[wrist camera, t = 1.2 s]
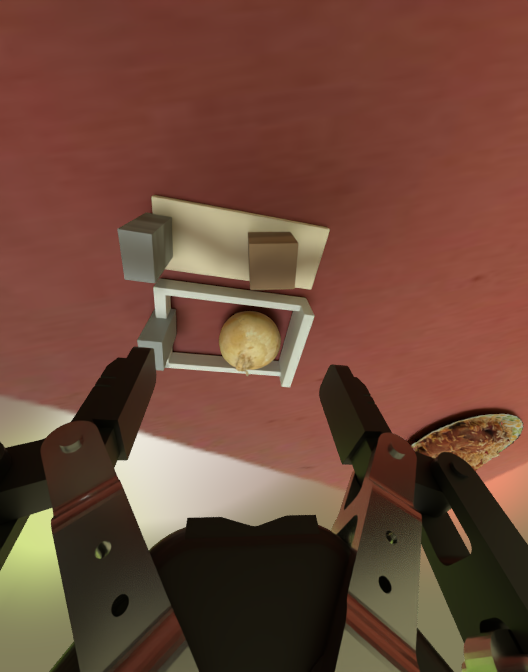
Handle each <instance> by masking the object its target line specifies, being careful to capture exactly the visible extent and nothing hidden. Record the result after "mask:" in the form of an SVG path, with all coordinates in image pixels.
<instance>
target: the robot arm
mask: <svg viewBox="0 0 528 672" xmlns="http://www.w3.org/2000/svg"><path fill="white" fill-rule="evenodd" d="M155 383H156V365H155V353H154V349H153V348H146V347H133V348H132V350H131V351H130V353H129V355H128V357H127V358H117V359H116V360H114V361H113V362H112V363H110V364H109V365H108V366H107V367H106V368H105V370H104V372H103V373H102V375H101V378H99V379H98V381H97V382H96V384H95V386H94V387H93V389H92V390H91V392H90V393H89V395H88V396H87V398H86V400H85V401H84V403H83V404H82V406H81V407H80V409H79V410H78V412H77V414H76V415H75V417H74V418H73V420H72V421H71V422H70V423H67V424H65V425H62V426H60V427H59V428H57V429H55V430H54V431H53V432H51V433H50V434H49V435H48V436H47V437H46V438H45V439H42V440H39V441H34V442H30V443H25V444H21V445H16V446H12V447H8V448H5V447H4V446H3V444H1V443H0V570H1V568H2V566H3V565H4V563H5V560H6V559H7V557H8V555H9V553H10V551H11V550H12V547H13V546H14V544H15V542H16V540H17V538H18V536H19V535H20V533H21V531H22V529H23V527H24V525H25V523H26V521H27V519H28V518H29V516H30V515H31V514H34V513H37V512H40V511H43V510H46V509H49V508H53V515H54V516H53V518H52V519H51V527H52V534H53V539H54V544H55V549H56V554H57V559H58V564H59V568H60V574H61V579H62V584H63V589H64V593H65V598H66V603H67V608H68V613H69V618H70V623H71V628H72V633H73V638H74V642H73V643H72V644H71V646H70V647H69V648H68V649H67V651H66V652H65V653H64V654H63V656H62V657H61V658H60V659H59V661H58V662H57V663H56V664H55V665H54V667H53V668H52V669H51V670H50V672H454V671H453V670H452V669H451V668H450V667H449V665H448V664H447V663H446V662H445V661H444V659H443V658H442V657H441V656H440V654H439V653H438V652H437V651H436V650H435V648H434V647H433V646H432V645H431V644H430V643H429V641H428V640H427V639H426V638H425V637H424V635H423V634H422V633H421V632H420V630H419V629H418V628H417V614H418V593H419V572H420V553H421V544H422V547H423V549H424V551H425V554H426V556H427V558H428V561H429V563H430V565H431V567H432V570H433V572H434V574H435V577H436V579H437V581H438V584H439V586H440V588H441V591H442V593H443V595H444V597H445V600H446V602H447V604H448V607H449V609H450V611H451V614H452V616H453V618H454V620H455V623H456V625H457V628H458V630H459V632H460V635H461V637H462V639H463V641H464V659H465V661H464V662H463V664H462V672H528V545H527V543H526V542H525V540H524V539H523V538H522V536H521V535H520V533H519V532H518V530H517V529H516V528H515V526H514V525H513V524H512V522H511V521H510V519H509V518H508V516H507V515H506V514H505V512H504V511H503V510H502V508H501V507H500V505H499V504H498V502H497V501H496V500H495V498H494V497H493V496H492V494H491V493H490V491H489V490H488V488H487V487H486V486H485V484H484V483H483V481H482V480H481V479H480V477H479V476H478V474H477V473H476V471H475V470H474V469H473V468H472V467H471V466H470V465H469V464H468V463H467V462H466V461H465V460H464V459H462V458H461V457H459V456H457V455H455V454H453V453H450V452H442V453H440V454H439V455H438V456H437V457H436V458H433V457H430V456H427V455H424V454H421V453H418V452H415V451H414V450H413V448H412V447H411V445H410V444H409V443H408V442H407V441H406V440H404V439H403V438H402V437H400V436H398V435H396V434H393V433H392V432H391V430H390V429H389V427H388V425H387V423H386V421H385V420H384V418H383V416H382V414H381V413H380V411H379V409H378V407H377V405H376V404H375V402H374V400H373V398H372V397H371V396H370V393H369V391H368V389H367V388H366V386H365V385H364V384H363V383H362V382H361V381H360V380H359V379H358V378H357V377H354V376H353V374H352V373H351V371H350V369H349V367H348V366H343V365H330V366H329V368H328V370H327V373H326V375H325V377H324V379H323V382H322V384H321V386H320V391H319V396H320V401H321V404H322V407H323V410H324V413H325V415H326V418H327V421H328V424H329V427H330V430H331V433H332V436H333V439H334V442H335V445H336V448H337V451H338V454H339V457H340V460H341V463H342V464H349V465H353V468H354V471H353V472H352V474H351V477H350V481H349V484H348V487H347V490H346V493H345V496H344V499H343V502H342V506H341V509H340V512H339V514H338V517H337V519H336V520H335V522H334V524H333V526H332V528H331V531H330V530H328V529H326V528H324V527H322V526H320V525H318V523H317V518H316V515H292V516H284V517H281V518H278V519H276V520H273V521H270V522H267V523H265V524H262V525H259V526H250V525H246V524H243V523H239V522H236V521H233V520H229V519H226V518H222V517H204V518H187V525H186V527H185V528H183V529H180V530H177V531H175V532H173V533H171V534H169V535H168V536H166V537H165V538H163V539H162V540H160V541H159V542H158V543H157V544H155V545H154V546H153V547H152V548H151V549H150V550H148V548H147V545H146V543H145V540H144V538H143V536H142V533H141V531H140V528H139V526H138V523H137V521H136V518H135V516H134V513H133V511H132V509H131V506H130V504H129V501H128V499H127V496H126V494H125V492H124V489H123V487H122V484H121V482H120V480H119V479H118V477H117V475H116V472H115V470H114V467H115V465H116V462H117V460H128V457H129V455H130V452H131V449H132V447H133V444H134V441H135V438H136V436H137V433H138V430H139V428H140V425H141V422H142V420H143V417H144V414H145V412H146V409H147V406H148V404H149V401H150V398H151V396H152V393H153V390H154V387H155ZM451 508H452V509H453V511H454V513H455V515H456V517H457V518H458V520H459V522H460V524H461V526H462V527H463V529H464V531H465V533H466V534H467V536H468V538H469V540H470V543H471V546H472V552H471V554H470V553H469V551H468V549H467V547H466V546H465V544H464V542H463V540H462V538H461V537H460V535H459V533H458V531H457V529H456V527H455V525H454V524H453V522H452V520H451V518H450V516H449V514H448V513H447V511H449V510H450V509H451Z"/></svg>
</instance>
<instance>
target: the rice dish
mask: <svg viewBox="0 0 528 672" xmlns="http://www.w3.org/2000/svg"><path fill="white" fill-rule="evenodd" d="M501 422H502V423H503V424H502V425H501ZM522 425H523V422H522V420H520V419H519V418H518V417H517V416H513V415H509V414H495V415H494V414H489V415H484V416H483V415H479V416H477V417H474V416H473V418H472V417H470V418H467V419H462V420H461V421H457V422H454V423H452V424H449V425H447V426H444V427H442V428H439V429H438V430H435V431H432V432H431V433H429V434H428V435H426V436H424V437H422V438H421V439H420V440H419V441H418V442H416V443H414V444H412V446H411V447H412V448H414V447H416V446H418V447H417V449H415V452H418V453H421V454H424V455H427V456H430V457H433V458H436V457H437V456H438V455H439V454H440V453H442V452H450V453H453V454H455V455H457V456H459V457H461V458H462V459H464V460H465V461H466V462H467V463H468V464H469V465H470V466H471V467H472V468H473V469H474V470H475V471H476V470H477V469H478V468H480V467H481V466H482V465H483V463H486V462H487V461H489V460H491V459H492V458H493V457H497V456H499V455H500V454H498V453H499V452H501V451H503V450H504V449H505V448H507V447H508V446H509V445H510V444H512V443H513V442H514V441H515V440H517V439H518V438H519V436H520V434H521V432H522V430H523V426H522Z"/></svg>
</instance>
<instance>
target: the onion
mask: <svg viewBox="0 0 528 672" xmlns="http://www.w3.org/2000/svg"><path fill="white" fill-rule="evenodd" d="M280 344H281V337H280V333H279V330H278V328H277V326H276V324H275V323H274V322H273V321H272V320H271V319H270V318H269V317H268V316H266V315H264V314H262V313H260V312H256V311H244V312H239V313H235V314H234V315H233V316H232V317H230V318H229V319H228V320H227V321H226V322H225V324H224V325H223V327H222V329H221V332H220V336H219V346H220V350H221V354H222V356H223V358H224V359H225V360H226V361H227V362H228V363H229V364H230V365H232V366H234V367H235V368H236V370H238V371H242V372H243V371H245V370H254V369H259V368H262V367H264V366H266V365H268V364H269V363H271V362H272V361H273V360H274V359H275V357H276V356H277V354H278V352H279V349H280ZM245 372H246V376H248V375H249V374H248V371H245Z"/></svg>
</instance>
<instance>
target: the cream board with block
mask: <svg viewBox="0 0 528 672" xmlns="http://www.w3.org/2000/svg"><path fill="white" fill-rule="evenodd" d="M152 211H153V214H151V213H145V214H143V215H141V216H139V217H138V218H136V219H134V220H132V221H131V222H129V223H127V224H125V225H124V226H122V227H120V228H118V236H119V243H120V250H121V257H122V264H123V271H124V278H125V279H126V280H133V281H141V282H149V283H156V281H157V280H158V278H159V277H160V275H161V274H162V272H163V271H164V269H168V270H175V271H182V272H189V273H196V274H203V275H210V276H218V277H225V278H232V279H239V280H246V281H250V280H249V259H248V232H291V233H292V235H293V236H294V238H295V239H296V240H297V242H298V243H299V244H298V256H297V268H296V279H295V287H296V288H304V289H311V288H312V285H313V282H314V279H315V276H316V272H317V269H318V266H319V263H320V260H321V256H322V253H323V250H324V247H325V244H326V240H327V237H328V234H329V231H330V229H328V228H327V227H323V226H318V225H313V224H307V223H302V222H297V221H291V220H286V219H281V218H275V217H270V216H265V215H259V214H254V213H249V212H243V211H238V210H233V209H227V208H222V207H217V206H211V205H206V204H201V203H195V202H190V201H185V200H179V199H174V198H169V197H163V196H158V195H154V196H152Z"/></svg>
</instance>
